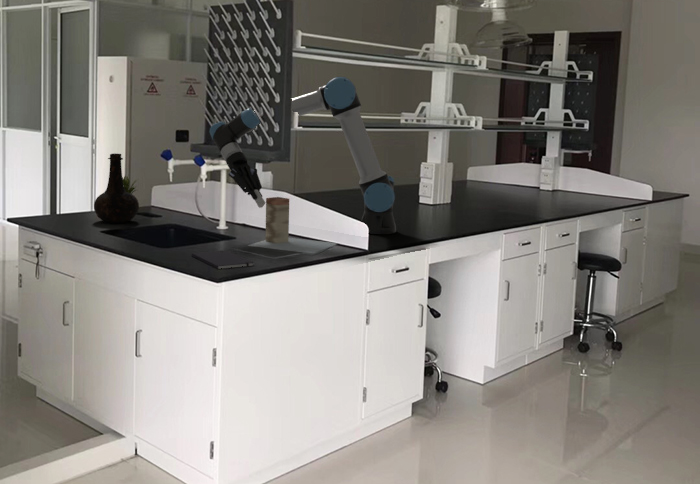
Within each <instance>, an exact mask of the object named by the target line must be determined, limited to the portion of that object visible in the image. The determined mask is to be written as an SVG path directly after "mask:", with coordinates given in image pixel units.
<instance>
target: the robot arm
mask: <svg viewBox="0 0 700 484" xmlns="http://www.w3.org/2000/svg"><path fill="white" fill-rule="evenodd" d="M291 99H292V111H293V112H298V114H299V116H298V117H297V118H299V117H301V116H304V115H309V114H310V113H315V112H318V111H320V110H325V111H329V110H330V111H331V115H332V118H333V119H336V120H337V121H338V122H339V125H340V127H341V130H342V132H343V135H344V138H345V141H346V143H347V146H348V148H349V151H350V154H351V156H352V158H353V161H354V163H355V167H356V170H357V172H358V175H359V177H360V178H359V182H358V185H359V188H360V191H361V194H362V196H363V201H364V206H363V207H364V209H363V210H364V211H363V214H362V217H361V220H360V222H364V223H365V224H367V225H368V227H369V230H370V234H371V235H393V234H395V233H396V232H397V226H396V223H395V218H394V214H393V211H394V210H393V209H394V203H395V198H396V193H395V191H394V190H395V189H394V188H395V179H394V177H393V176H391V175H388V174H387V173H388V172H385V171H384V170H382V169H381V165H380V163H379V160H378V158H377V155H376V152H375V149H374V147H373V144H372V141H371V139H370V136H369V134H368V132H367V129H366V126H365V124H364V123H365V122H364V121H363V118H362V115H361V113H360V112H361V108H362V104H361V101H360V98H359V96H358V93H357V89H356V86H355V85H354V83H353V82H352V81H351V80H350V79H348V78H347V77H345V76H336V77H334V78H332V79H330V80H329V81H328V82H327V83H326V84H325V85H322V86H319V87H318V88H317V90H315V91H312V92H309V93H306V94H302V95H300V96H299V95H298V96H296V97H293V98H291ZM254 111H255V110H253V109H252V108H250V107H248V108H247V109H245V110H242V111H241V112H240V113H238V115H236V116H235V117H234V118H232V119H231V120H230V121H229V122H225V121H218V122H217V123H214V124H212V125H211V127H210V128H209V134H210V137H211V138H212V141H213V143H214V144H215V146H216V148H217V149H218V151H219V152H220V155H221V156H222V158H223V160H224V162H225V164H226V165H227V167H228V169H229V170H230V171H229V173H228V176H229V177H230V178H231V179H233V181H234V182H235V183H236V184H237V186H238V187H239V188H240V189H241V190H242V192H243V193H245V194H246V193H247V196H251V198H252V199H253V200H254V201H255V203H256V206H258V208H259V209H260V208H261V209H262V208H263V207H264V206H265V205H266V200H265V199H264V198H263V194H262V193H261V189H262V188H263V187H262V183H261V181H260V178H259V175H258V169H257V168H254V169H253V168H252V167H251V166H250V165H249V164H248V159H247V158H246V155H245V153H244V152H243V150H242V149H241V147H240V145H239V143H238V140H239V139H241V138H243V137H244V136H245V135H246V134H248V133H251V131H252V132H254V131H253V130H255V128H256V126H257V125H258V124H260V120H259V118H258V116H257V115H256V113H255V112H254ZM255 131H256V130H255Z"/></svg>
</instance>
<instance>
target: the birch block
mask: <svg viewBox="0 0 700 484" xmlns="http://www.w3.org/2000/svg"><path fill="white" fill-rule="evenodd" d="M289 226H290V198H287V197H281V196H280V197H279V196H276V197H266V198H265V239H264V240H265V241H268V242H272V243H283V242H288V238H290V237H289V234H290V233H289V231H290V227H289Z"/></svg>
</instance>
